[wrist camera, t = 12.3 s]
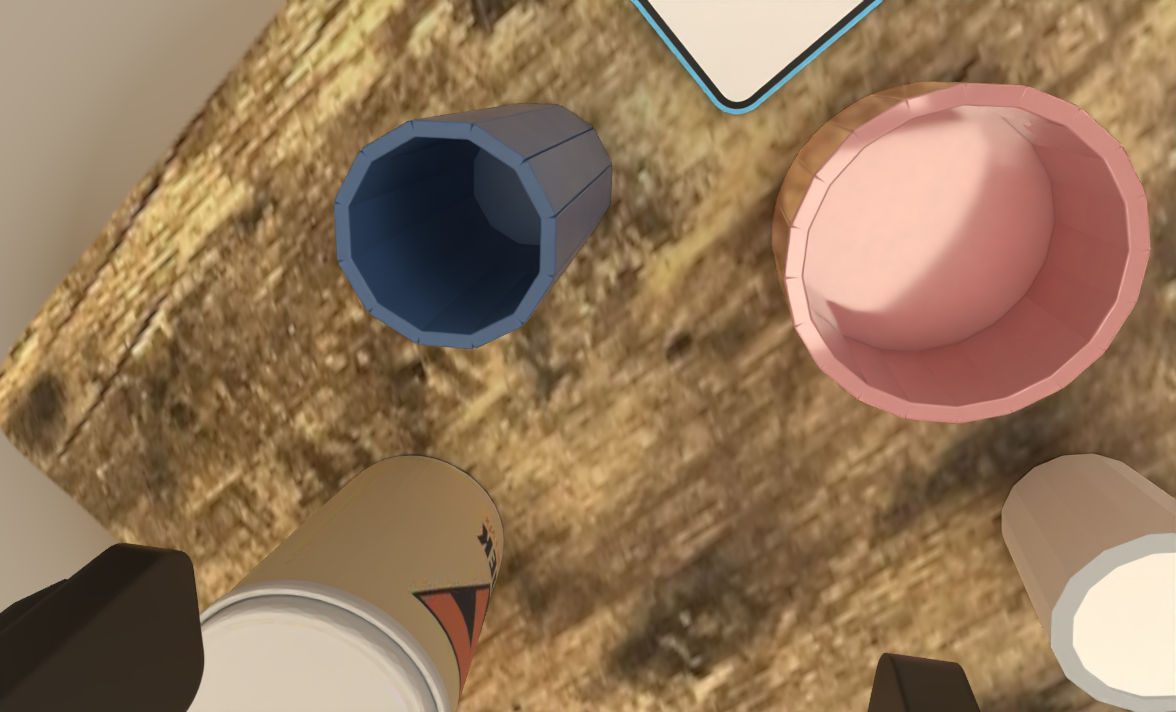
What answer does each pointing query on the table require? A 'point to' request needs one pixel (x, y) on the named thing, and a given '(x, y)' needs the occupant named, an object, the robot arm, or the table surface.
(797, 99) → the table surface
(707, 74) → the smartphone
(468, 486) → the coffee cup
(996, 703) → the table surface
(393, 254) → the blue cup
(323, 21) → the table surface
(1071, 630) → the white cylinder
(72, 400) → the table surface
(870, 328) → the pink cup
